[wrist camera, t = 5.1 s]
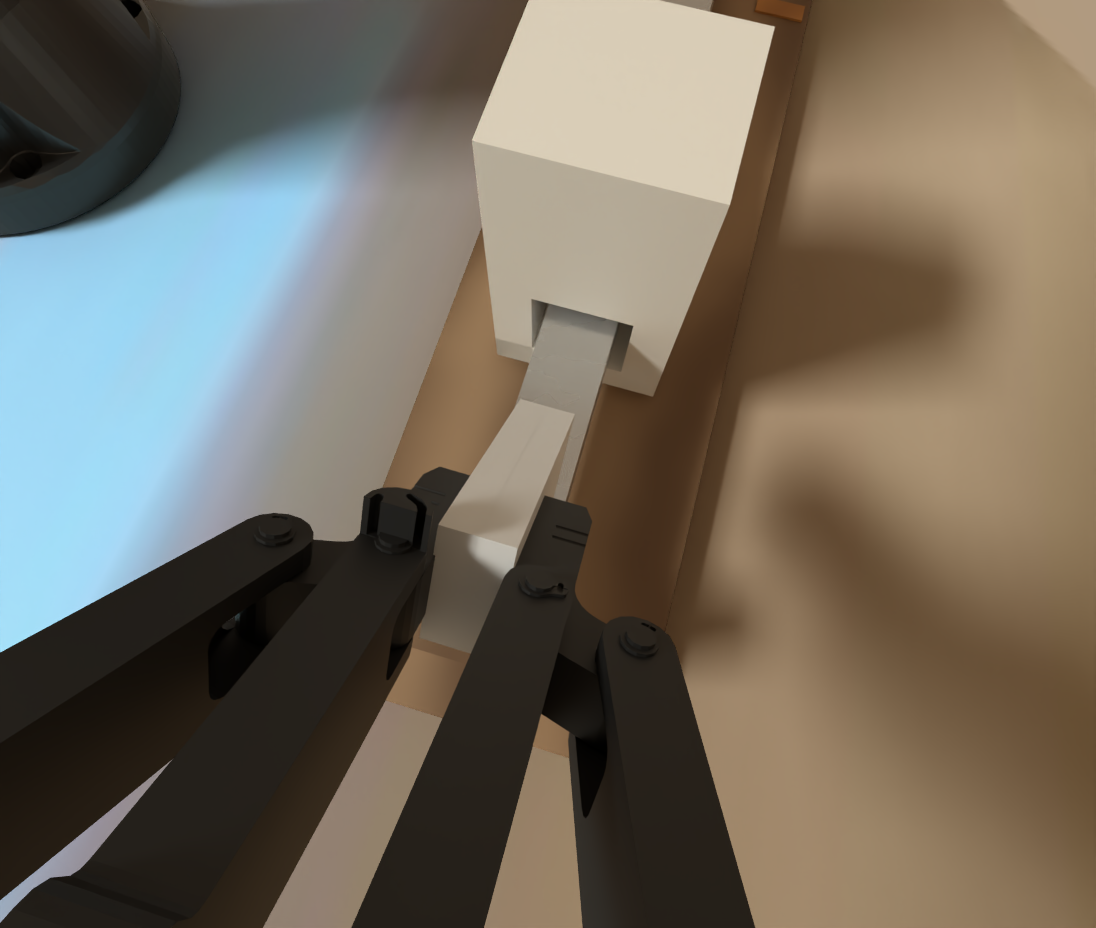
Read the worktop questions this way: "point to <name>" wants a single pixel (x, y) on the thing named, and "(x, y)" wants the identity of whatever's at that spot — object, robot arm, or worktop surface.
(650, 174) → the sleeve
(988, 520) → the worktop surface
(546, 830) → the worktop surface
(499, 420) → the walnut board
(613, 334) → the steel rod
